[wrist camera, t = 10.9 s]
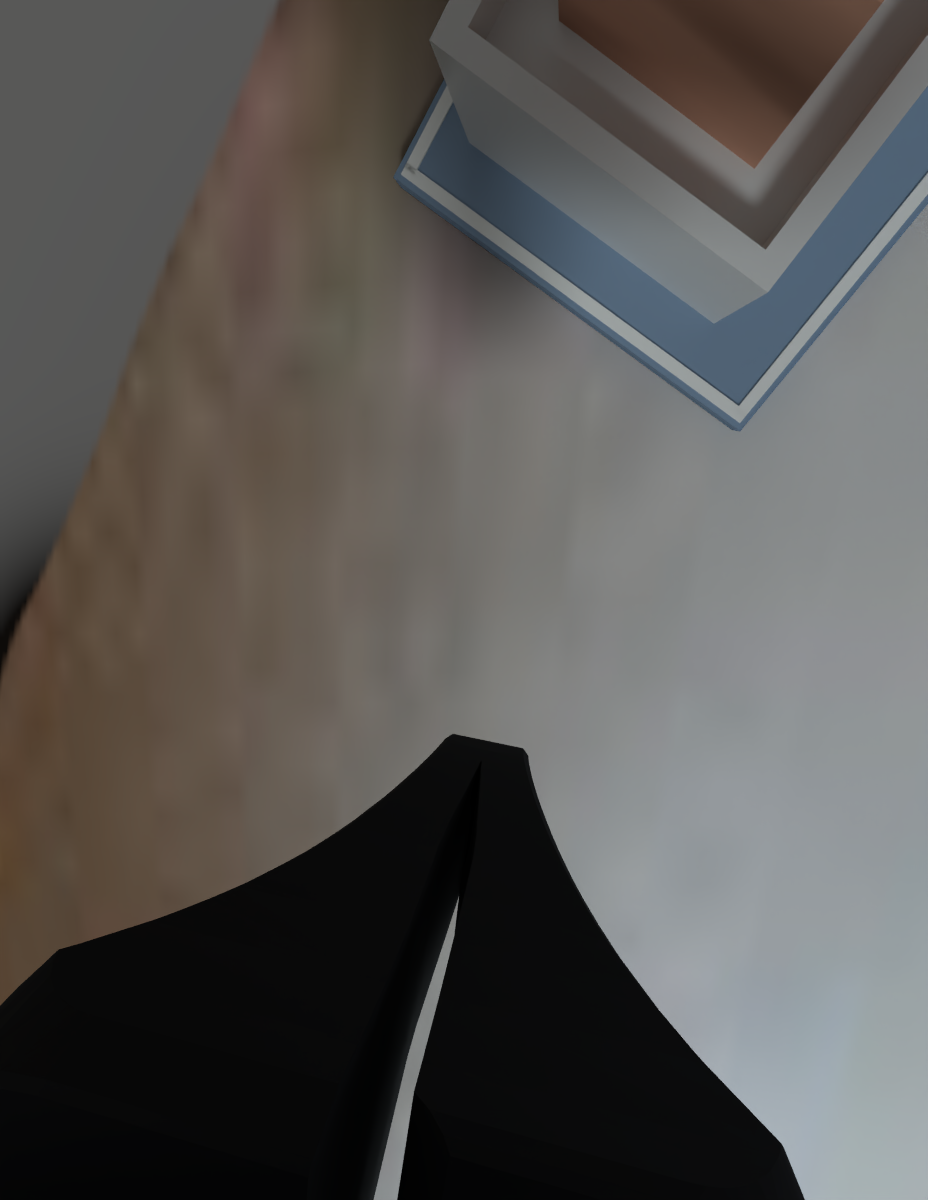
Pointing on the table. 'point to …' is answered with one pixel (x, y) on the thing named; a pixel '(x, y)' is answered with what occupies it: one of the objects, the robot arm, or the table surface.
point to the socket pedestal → (672, 144)
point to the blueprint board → (642, 305)
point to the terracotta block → (725, 56)
